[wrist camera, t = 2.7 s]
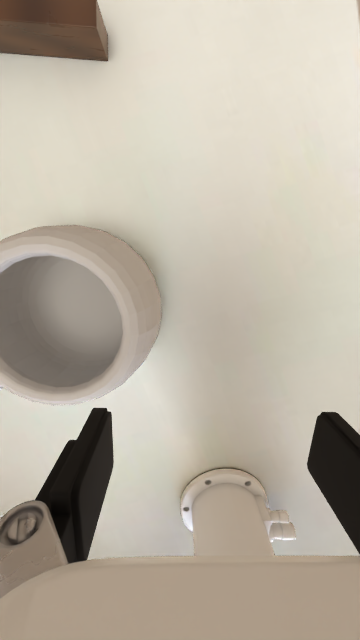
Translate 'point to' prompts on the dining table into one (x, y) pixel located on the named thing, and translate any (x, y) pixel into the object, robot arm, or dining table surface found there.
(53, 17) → the corner stop
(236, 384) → the dining table surface
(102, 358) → the mug
